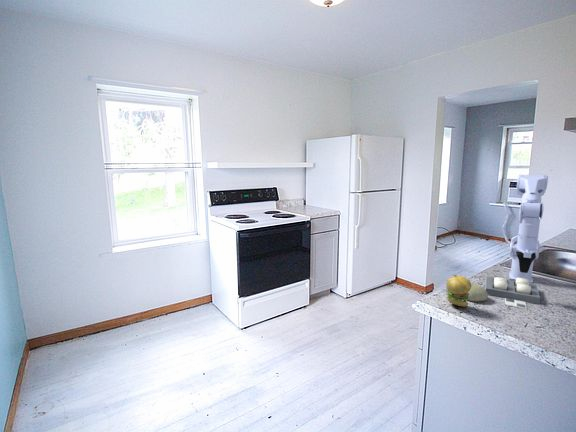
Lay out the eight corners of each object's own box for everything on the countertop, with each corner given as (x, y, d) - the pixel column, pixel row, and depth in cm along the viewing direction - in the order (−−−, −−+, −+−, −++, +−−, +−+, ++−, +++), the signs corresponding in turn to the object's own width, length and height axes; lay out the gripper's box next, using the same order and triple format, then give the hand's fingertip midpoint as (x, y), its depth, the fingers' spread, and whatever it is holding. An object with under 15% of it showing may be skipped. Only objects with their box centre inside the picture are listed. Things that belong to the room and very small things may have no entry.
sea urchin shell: (495, 299, 109) (478, 283, 110) (476, 312, 112) (460, 296, 112) (484, 289, 118) (469, 274, 118) (466, 301, 120) (452, 287, 121)
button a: (493, 283, 127) (494, 276, 127) (506, 285, 125) (506, 278, 125) (493, 286, 124) (494, 279, 123) (506, 289, 122) (507, 281, 121)
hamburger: (473, 307, 107) (476, 274, 105) (462, 313, 103) (465, 278, 101) (451, 299, 114) (454, 268, 112) (440, 304, 110) (442, 272, 108)
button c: (514, 284, 123) (515, 276, 123) (528, 286, 121) (529, 278, 121) (515, 287, 120) (516, 280, 119) (529, 289, 118) (530, 282, 117)
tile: (504, 298, 114) (504, 297, 114) (525, 302, 111) (525, 301, 111) (505, 305, 109) (505, 303, 109) (526, 309, 106) (526, 308, 106)
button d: (515, 290, 118) (516, 282, 117) (529, 292, 115) (530, 284, 115) (516, 293, 114) (517, 286, 114) (530, 296, 112) (531, 288, 111)
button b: (493, 286, 121) (494, 278, 121) (506, 288, 119) (507, 281, 119) (493, 289, 118) (494, 282, 118) (507, 292, 116) (507, 284, 115)
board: (486, 281, 130) (487, 276, 130) (535, 289, 122) (535, 284, 121) (485, 294, 118) (486, 288, 118) (539, 304, 109) (540, 297, 109)
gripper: (513, 231, 120) (509, 264, 122) (515, 238, 108) (510, 275, 110) (536, 233, 116) (532, 268, 118) (540, 241, 104) (536, 279, 106)
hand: (523, 272), depth 114 cm, fingers closed
